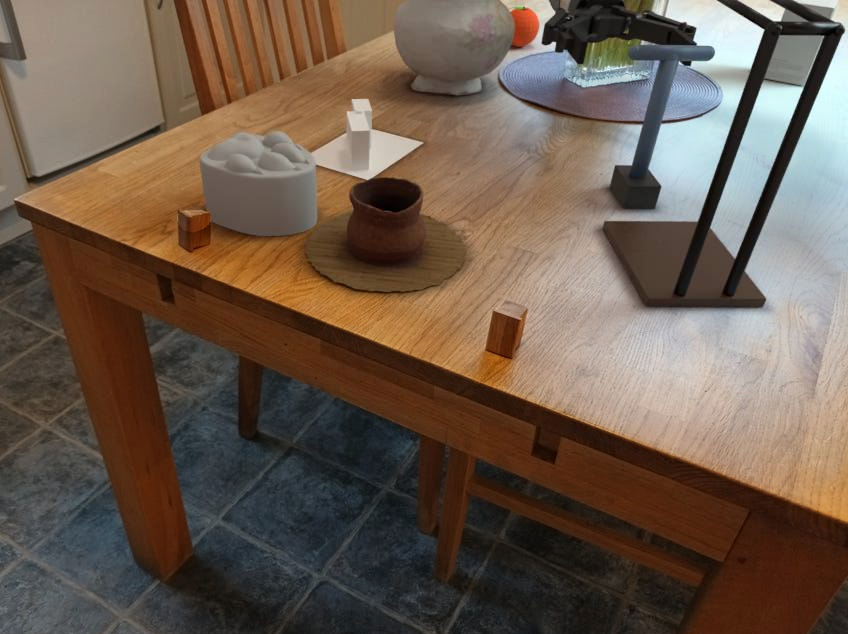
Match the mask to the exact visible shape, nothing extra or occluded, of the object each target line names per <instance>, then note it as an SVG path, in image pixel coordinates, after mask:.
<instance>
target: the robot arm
mask: <svg viewBox="0 0 848 634" xmlns="http://www.w3.org/2000/svg"><path fill="white" fill-rule="evenodd" d="M548 2H549V4H550V6H551V9H552V10H553V11H554V14H553V15H552V16H551V17H550V18H549V19H548V20H546V22H545V23H544V25H543V30H542V38H541V43H540V44H541V45H542V46H550V45H551V44H552V43H555V46H554V52H555V53H558V54H562V53H564V51H567V53H568V54H569V55H570V57H571V58H572V59H573V60H574V62H575V63H576V65H584V63H585V58H586V53H587V49H588V45H589V43H590V44H596V43H601V42H604V41H606V40H608V39H615V38H617V39H620V40H624V41H629V42H630V41H632V40H640V41H643V42H647V43H650V44H653V45H696V46H698V43H697V42H696V41H695V40H694V39H695V36H696V33H697V29H698V27H696V26H694V25H690V24H688V22H686V21H682V22H681V21H678V20H675V19H672V18H669V17H665V16H664V15H660V14H657V13H656V12H655V11H652V10H650V9H644V10H643V11H642V14H641V13H640V12H637V11H634V10H630V9H627V8H626V5H625V1H624V0H548ZM692 62H693V61H679V63H680V64H682V65H683V66H684V67H691V66H692Z"/></svg>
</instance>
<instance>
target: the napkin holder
mask: <svg viewBox="0 0 848 634" xmlns="http://www.w3.org/2000/svg"><path fill="white" fill-rule="evenodd" d="M422 145H424V142H423V141H419V140H415V139H413V138H408V137H404V136H400V135H395V134H392V133H388V132H385V131H381V130H377V129H373V109H372V106H371V104H370V100H369V98H354V99H353V98H351V110H348V111H346V132H345V133H343V134H342V135H340V136H338V137H336V138H334V139H333V140H331V141H330V142H328V143H326V144H324V145H322V146H320V147H318V148H317V149H316V150H315V149H314V150H313V151H312V152H310V153H311V154H312V155H313V157H314V159H315V162H316V166H319V167H323V168H326V169H330V170H332V171H336V172H339V173H343V174H346V175H349V176H353V177H356V178H360V179H363V180H365V181H367V180H369V179H370V178H375V177H376V176H377V175H379V174H380V173H381V172H383V171H385V170H386V169H387V168H389V167H391V166H392V165H394V164H395V163H396V162H398V161H399V160H401V159H402V158H404V157H405V156H407V155H408V154H410V153H411V152H413V151H414V150H415V149H417V148H418V147H420V146H422Z"/></svg>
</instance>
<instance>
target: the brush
mask: <svg viewBox="0 0 848 634" xmlns="http://www.w3.org/2000/svg"><path fill="white" fill-rule="evenodd" d="M627 54H628V58H629V59H630V60H632V61H652V62H653V61H654V62H656V61H657V62H658V66H657V69H656V74H655V77H654V80H653V84H652V88H651V93H650V96H649V98H648V103H647V107H646V111H645V114H644V118H643V122H642V125H641V129H640V133H639V137H638V141H637V143H636V144H637V145H636V148H635V151H634V155H633V160H632V162H631V164H615V165H614V168H613V171H612V176H611V179H610V184H609V188H610V190H611V191H612V193H613V194H614V197H615V198H616V199H617V201H618V203H619V204H620V206H621V207H622V208H623V209H651V210H652V209H653V210H654V209H656V206H657V204H658V200H659V198H660V197H659V196H660V194H661V190H662V188H663V187H662V185H661V183H660V182H659V181H658V179H657V178H656V176H655V175H654V174H653V173H652V171H651V170H650V169H649V168H650V165H651V161H652V158H653V154H654V151H655V148H656V143H657V140H658V137H659V133H660V130H661V126H662V123H663V119H664V115H665V112H666V109H667V105H668V102H669V98H670V94H671V91H672V88H673V83H674V80H675V78H676V74H677V69H678V67H679V66H678V65H679V63H680V62H679V61H692V62H709V61H712V59H713V58H714V57H715V55H716V50H715V48H714V47H713V46H712V45H697V46H696V45H657V44H633V45H631V47H630V48H629V49H628V53H627Z"/></svg>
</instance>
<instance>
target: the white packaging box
mask: <svg viewBox="0 0 848 634" xmlns="http://www.w3.org/2000/svg"><path fill="white" fill-rule="evenodd" d="M794 1H796V2H797V3H799V4H801V5H803V6H805V7H807V8H809V9H811V10H813V11H815V12H817V13H819V14H821V15H823V16H825V17H827V18H829V19H831V20H833V17H834V15H835V12H836V9H837V7H838V4H839V0H794ZM780 21H794V22H809V21H807V20H805V19H803V18H801V17H799V16H798V15H796V14H794V13H792V12H790V11H788V10H786V9H785V8H784V11H783V13H782V16H781V19H780ZM823 38H824V36H791V35H780V36H779V39H778V41H777V44H776V47H775V50H774V52H773V55H772V58H771V61H770V63H769V66H768V69H767V72H766V74H765V77H764V80H771V81H776V82H781V83H784V84H785V83H786V84H792V85H797V86H804V85H805V83H806V80H807V78H808V75H809V73H810V70H811V68H812V65H813V63H814V60H815V58H816V55H817V53H818V50H819V48H820V45H821V43H822V40H823Z"/></svg>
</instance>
